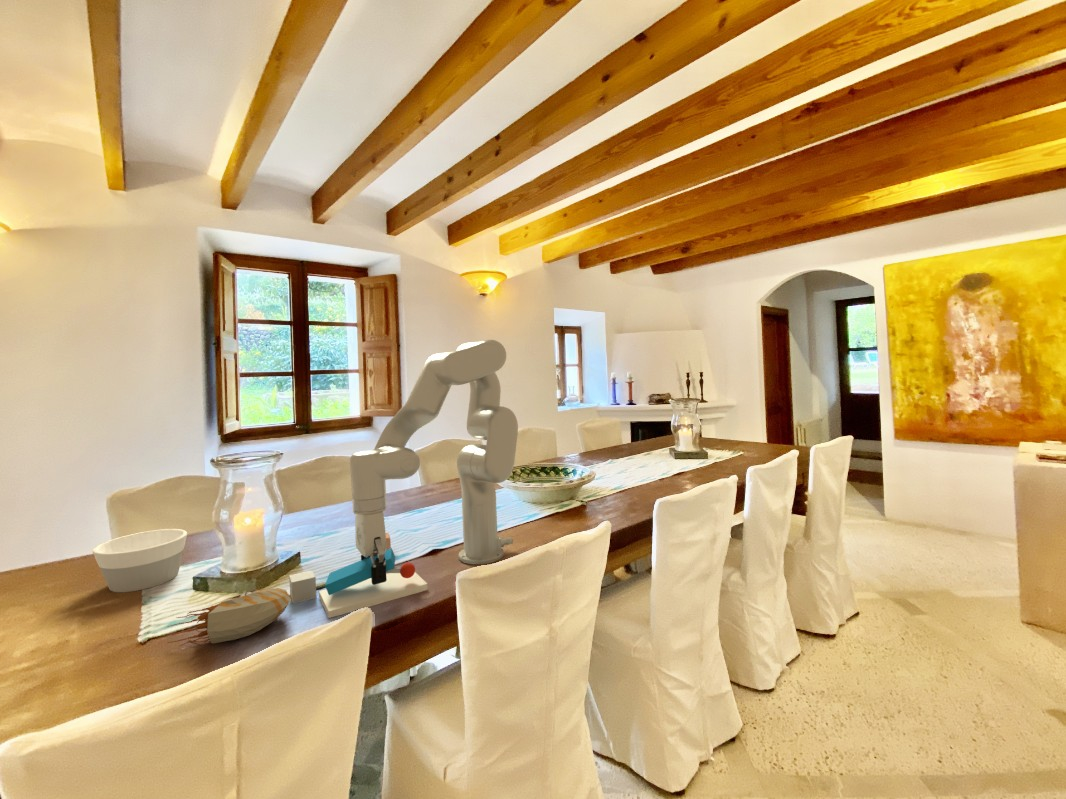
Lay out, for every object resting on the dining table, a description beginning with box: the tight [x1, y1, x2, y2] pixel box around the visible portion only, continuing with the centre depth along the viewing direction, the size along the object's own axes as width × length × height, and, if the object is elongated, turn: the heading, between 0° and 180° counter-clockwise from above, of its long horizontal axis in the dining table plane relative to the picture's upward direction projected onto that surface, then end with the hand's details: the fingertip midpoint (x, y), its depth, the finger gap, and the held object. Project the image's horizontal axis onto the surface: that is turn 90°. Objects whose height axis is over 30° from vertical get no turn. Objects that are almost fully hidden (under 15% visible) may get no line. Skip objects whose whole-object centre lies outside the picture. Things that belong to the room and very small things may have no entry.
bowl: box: [91, 528, 188, 593], centre depth 125 cm, size 19×19×11 cm
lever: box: [324, 547, 416, 595], centre depth 113 cm, size 7×7×19 cm
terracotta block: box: [372, 532, 392, 553], centre depth 139 cm, size 5×5×5 cm
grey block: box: [288, 569, 317, 604], centre depth 112 cm, size 5×5×5 cm
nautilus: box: [166, 587, 292, 648], centre depth 97 cm, size 8×22×15 cm
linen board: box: [318, 571, 428, 619], centre depth 113 cm, size 22×12×2 cm, turn 123°
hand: (373, 576), depth 113 cm, fingers closed on lever, 8 cm apart
